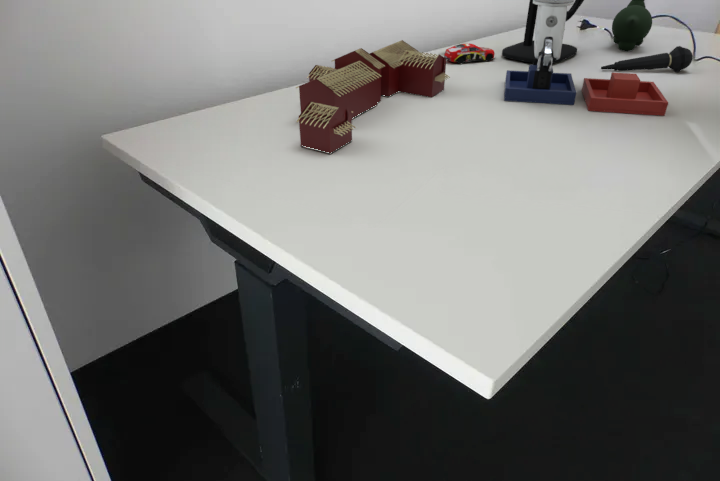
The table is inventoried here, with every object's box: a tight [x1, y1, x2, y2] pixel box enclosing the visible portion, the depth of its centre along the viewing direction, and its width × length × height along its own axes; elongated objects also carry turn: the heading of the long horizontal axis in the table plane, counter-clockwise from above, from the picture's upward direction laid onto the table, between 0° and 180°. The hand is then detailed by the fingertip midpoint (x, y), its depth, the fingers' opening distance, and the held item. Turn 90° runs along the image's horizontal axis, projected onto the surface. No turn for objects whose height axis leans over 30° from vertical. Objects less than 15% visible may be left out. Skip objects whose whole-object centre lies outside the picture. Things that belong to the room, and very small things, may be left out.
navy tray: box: [503, 69, 577, 106], centre depth 114 cm, size 14×14×3 cm
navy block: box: [526, 64, 554, 90], centre depth 113 cm, size 5×5×5 cm
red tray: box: [581, 77, 669, 117], centre depth 108 cm, size 14×14×3 cm
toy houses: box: [295, 39, 451, 153], centre depth 104 cm, size 45×20×10 cm, turn 148°
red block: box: [607, 72, 641, 99], centre depth 107 cm, size 5×5×5 cm
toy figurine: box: [611, 0, 653, 53], centre depth 143 cm, size 9×19×25 cm
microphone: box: [600, 45, 694, 73], centre depth 126 cm, size 6×6×20 cm
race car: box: [443, 42, 496, 64], centre depth 136 cm, size 13×5×4 cm, turn 105°
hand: (539, 84), depth 113 cm, fingers open, 9 cm apart
